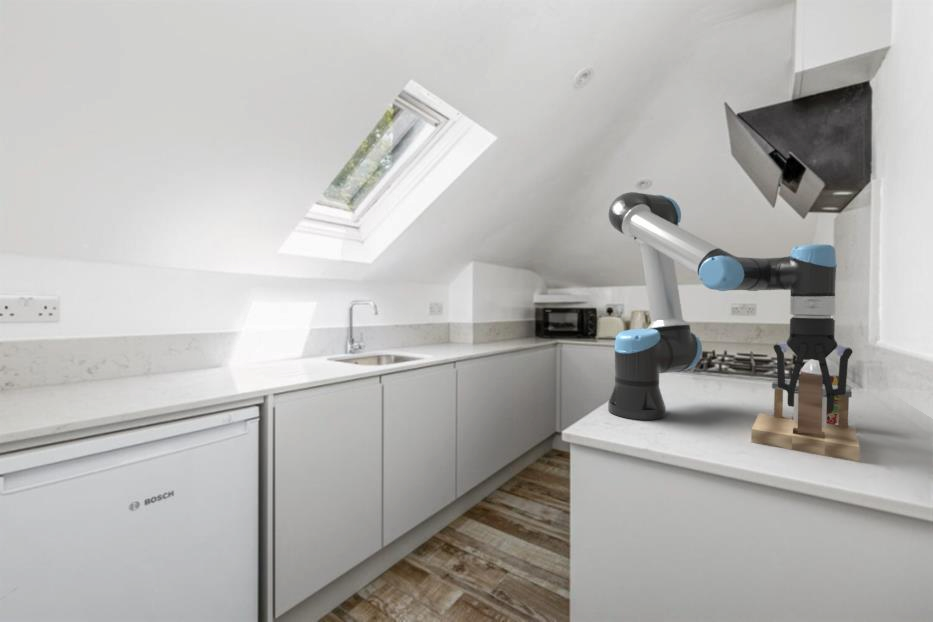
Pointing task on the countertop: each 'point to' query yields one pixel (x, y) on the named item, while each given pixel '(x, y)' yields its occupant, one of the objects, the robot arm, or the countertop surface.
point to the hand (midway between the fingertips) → (809, 423)
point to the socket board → (786, 435)
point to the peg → (810, 403)
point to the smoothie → (814, 369)
